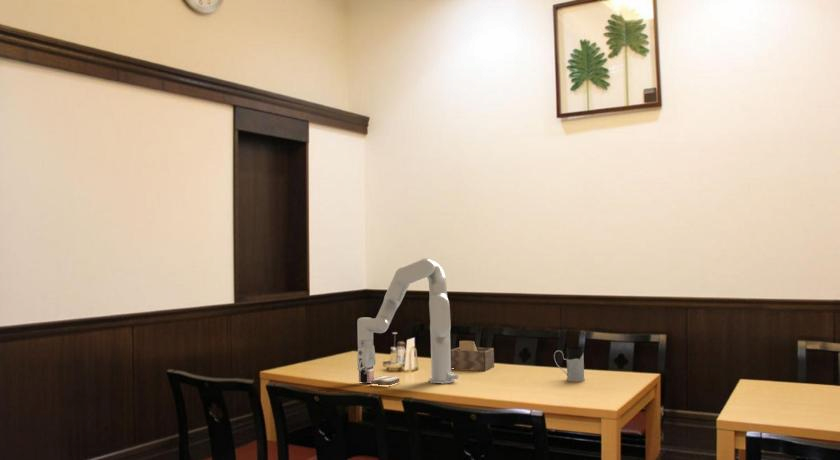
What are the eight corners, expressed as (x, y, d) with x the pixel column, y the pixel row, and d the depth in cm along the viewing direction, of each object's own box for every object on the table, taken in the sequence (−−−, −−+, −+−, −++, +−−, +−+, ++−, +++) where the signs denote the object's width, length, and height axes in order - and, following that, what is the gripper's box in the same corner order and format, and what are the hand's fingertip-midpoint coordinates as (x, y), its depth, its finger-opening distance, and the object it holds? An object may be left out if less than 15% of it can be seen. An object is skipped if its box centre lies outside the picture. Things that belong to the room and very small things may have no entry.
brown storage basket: (494, 367, 358) (493, 348, 359) (485, 371, 346) (484, 351, 347) (460, 365, 367) (460, 346, 367) (450, 369, 355) (450, 350, 355)
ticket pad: (399, 383, 319) (399, 376, 319) (389, 387, 310) (389, 380, 310) (381, 382, 323) (381, 375, 323) (370, 386, 314) (370, 379, 314)
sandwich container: (485, 367, 362) (485, 339, 364) (474, 370, 349) (474, 341, 350) (471, 366, 366) (470, 338, 368) (459, 369, 353) (459, 340, 354)
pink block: (374, 382, 321) (373, 369, 322) (369, 384, 318) (369, 370, 318) (363, 381, 324) (363, 368, 324) (358, 383, 320) (358, 369, 321)
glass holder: (585, 381, 313) (584, 349, 313) (554, 381, 316) (553, 349, 316) (584, 378, 321) (583, 346, 322) (554, 377, 324) (553, 346, 325)
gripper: (363, 345, 312) (364, 385, 312) (380, 341, 327) (381, 378, 327) (349, 345, 316) (350, 384, 315) (367, 340, 331) (368, 378, 330)
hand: (366, 381), depth 321 cm, fingers closed on pink block, 4 cm apart
